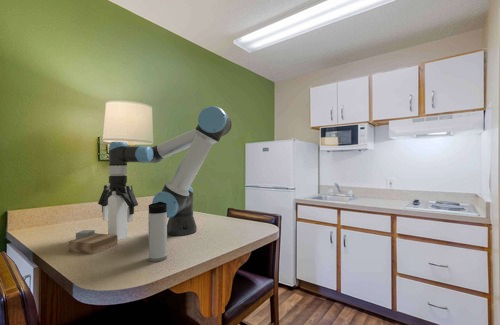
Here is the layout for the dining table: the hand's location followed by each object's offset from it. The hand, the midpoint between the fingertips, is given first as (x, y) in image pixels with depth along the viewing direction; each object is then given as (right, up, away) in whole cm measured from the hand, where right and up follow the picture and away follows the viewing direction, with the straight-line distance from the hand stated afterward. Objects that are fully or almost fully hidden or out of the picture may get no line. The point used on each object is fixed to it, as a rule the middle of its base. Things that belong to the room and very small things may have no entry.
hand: (117, 220), depth 118 cm
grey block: (-10, -8, -7) cm, 15 cm away
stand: (-2, -8, -14) cm, 16 cm away
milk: (0, -8, 0) cm, 8 cm away
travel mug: (+28, -8, -26) cm, 40 cm away
